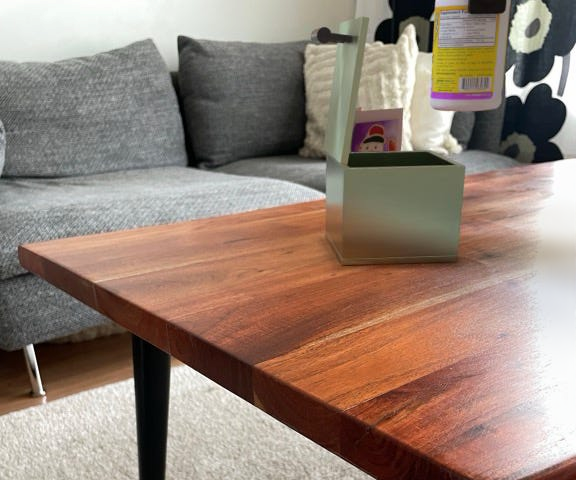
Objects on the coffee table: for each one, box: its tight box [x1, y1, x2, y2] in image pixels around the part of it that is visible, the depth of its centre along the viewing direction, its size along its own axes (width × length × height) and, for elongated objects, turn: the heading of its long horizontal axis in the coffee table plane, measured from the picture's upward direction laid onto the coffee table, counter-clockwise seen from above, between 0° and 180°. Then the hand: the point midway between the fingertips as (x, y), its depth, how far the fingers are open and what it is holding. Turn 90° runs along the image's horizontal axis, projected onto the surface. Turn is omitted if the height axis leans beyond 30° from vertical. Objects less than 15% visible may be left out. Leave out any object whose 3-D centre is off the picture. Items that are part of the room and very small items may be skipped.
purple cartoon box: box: [349, 106, 404, 152], centre depth 106 cm, size 11×7×15 cm, turn 129°
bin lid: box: [310, 16, 370, 165], centre depth 82 cm, size 14×15×5 cm
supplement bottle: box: [429, 0, 512, 112], centre depth 66 cm, size 7×7×13 cm
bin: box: [324, 149, 467, 266], centre depth 88 cm, size 14×15×11 cm
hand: (472, 14), depth 65 cm, fingers closed on supplement bottle, 6 cm apart
